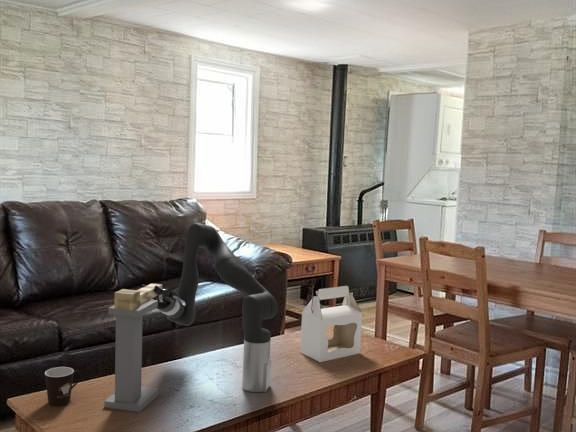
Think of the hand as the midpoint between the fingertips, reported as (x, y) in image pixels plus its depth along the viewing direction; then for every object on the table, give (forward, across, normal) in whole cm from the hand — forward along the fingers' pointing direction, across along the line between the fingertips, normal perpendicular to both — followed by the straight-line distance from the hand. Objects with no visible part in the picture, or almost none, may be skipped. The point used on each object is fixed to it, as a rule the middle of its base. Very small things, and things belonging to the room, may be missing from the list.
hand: (149, 287), depth 196 cm
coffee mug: (-2, -20, +39) cm, 44 cm away
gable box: (-67, +55, +2) cm, 87 cm away
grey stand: (-8, 0, +36) cm, 37 cm away
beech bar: (+3, 0, +5) cm, 6 cm away
